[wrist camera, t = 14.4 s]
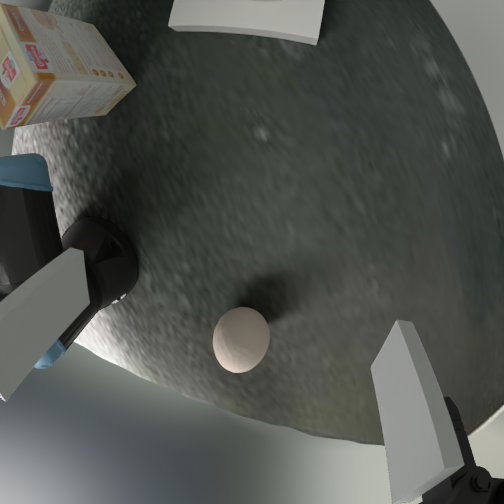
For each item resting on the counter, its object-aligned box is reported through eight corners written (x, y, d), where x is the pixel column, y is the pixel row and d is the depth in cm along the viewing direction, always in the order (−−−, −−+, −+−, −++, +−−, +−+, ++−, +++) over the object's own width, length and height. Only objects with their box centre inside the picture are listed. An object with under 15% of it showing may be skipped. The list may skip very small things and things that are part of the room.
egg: (212, 315, 48) (192, 365, 37) (242, 285, 45) (227, 334, 34) (250, 342, 49) (239, 394, 39) (282, 315, 46) (278, 368, 36)
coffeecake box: (65, 55, 32) (-31, 49, 14) (94, 22, 30) (0, -1, 12) (104, 117, 36) (0, 133, 19) (138, 85, 34) (35, 76, 16)
